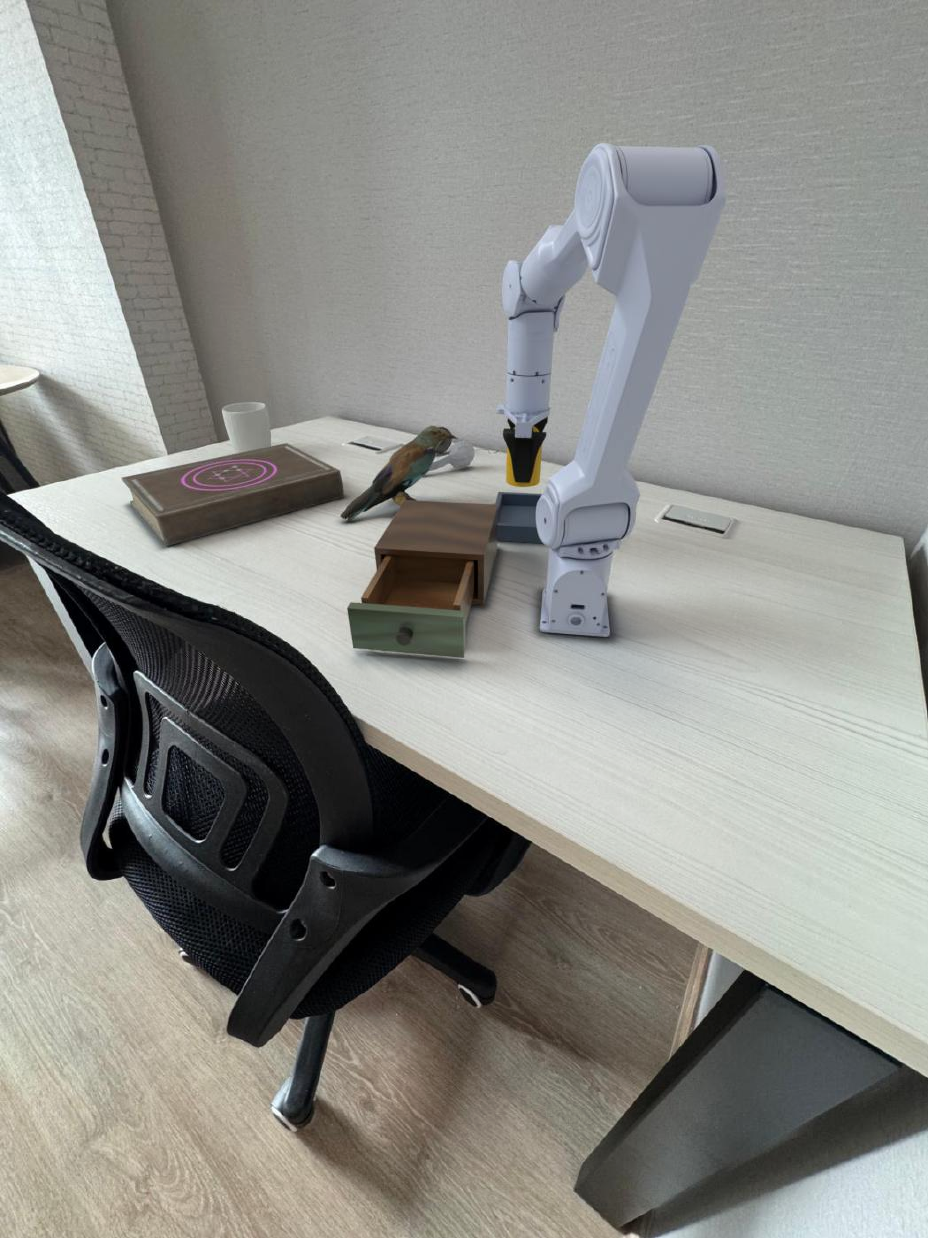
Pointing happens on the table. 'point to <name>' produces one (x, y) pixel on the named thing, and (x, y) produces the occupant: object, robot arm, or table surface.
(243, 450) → the mug
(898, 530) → the table surface
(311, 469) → the book
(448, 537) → the cabinet
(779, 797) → the table surface
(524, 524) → the tray
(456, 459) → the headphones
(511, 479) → the pepper
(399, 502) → the bird figurine
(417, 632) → the drawer
